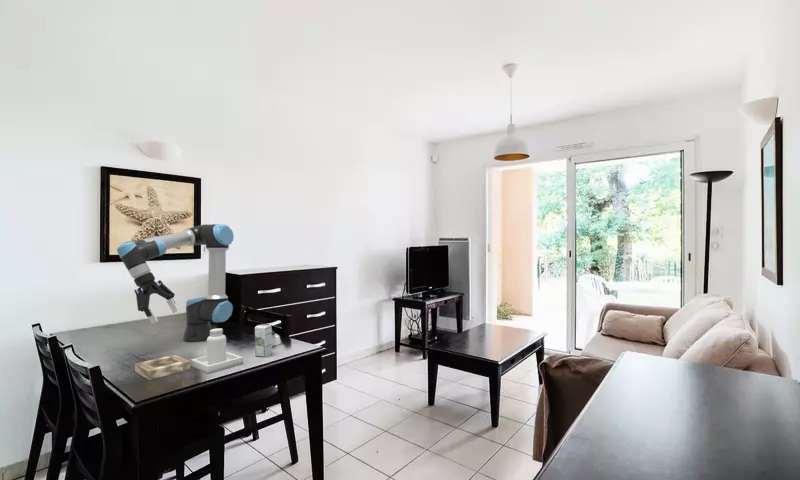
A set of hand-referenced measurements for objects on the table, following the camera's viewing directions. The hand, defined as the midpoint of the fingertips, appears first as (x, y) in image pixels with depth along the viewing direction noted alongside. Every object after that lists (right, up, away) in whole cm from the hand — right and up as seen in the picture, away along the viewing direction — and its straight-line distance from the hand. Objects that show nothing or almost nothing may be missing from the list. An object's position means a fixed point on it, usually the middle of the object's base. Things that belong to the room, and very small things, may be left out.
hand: (166, 316), depth 178 cm
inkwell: (+38, -21, +30) cm, 53 cm away
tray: (+23, -22, 0) cm, 32 cm away
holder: (+2, -22, -6) cm, 23 cm away
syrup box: (+39, -22, +14) cm, 47 cm away
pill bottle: (+23, -21, 0) cm, 31 cm away
